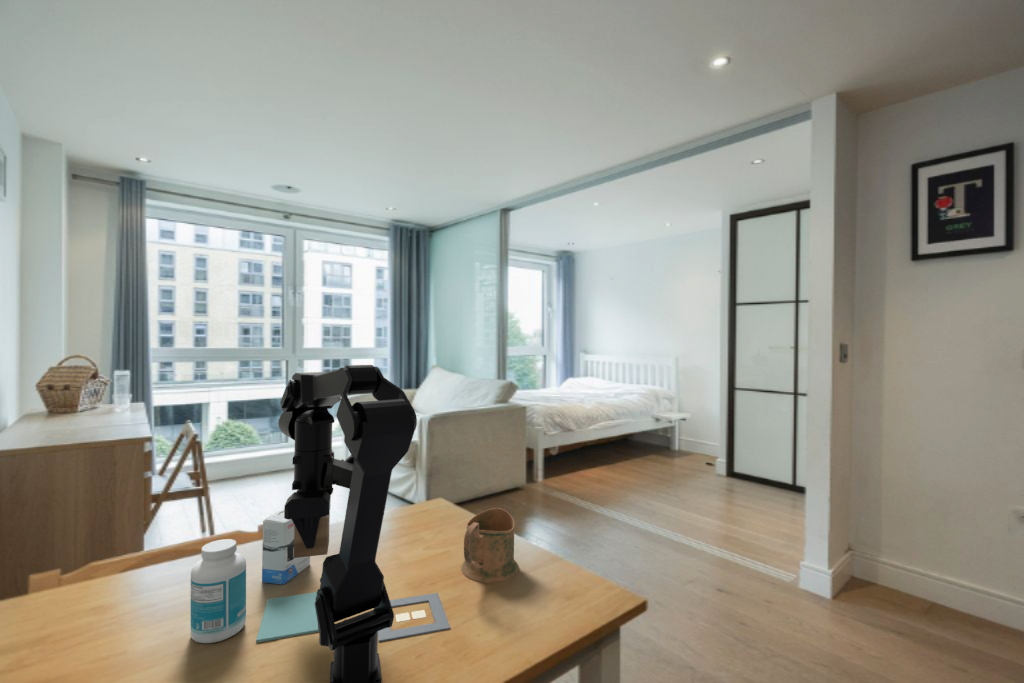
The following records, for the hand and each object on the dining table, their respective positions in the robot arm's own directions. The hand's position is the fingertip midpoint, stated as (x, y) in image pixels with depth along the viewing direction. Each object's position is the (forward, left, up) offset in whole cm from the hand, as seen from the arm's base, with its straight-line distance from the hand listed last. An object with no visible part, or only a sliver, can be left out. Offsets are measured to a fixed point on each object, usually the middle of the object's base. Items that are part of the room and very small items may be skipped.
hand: (311, 541), depth 80 cm
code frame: (-6, -16, -12) cm, 21 cm away
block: (0, 0, -1) cm, 1 cm away
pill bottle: (-1, +13, -12) cm, 18 cm away
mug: (+4, -31, -13) cm, 34 cm away
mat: (0, +2, -12) cm, 12 cm away
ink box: (+16, +5, -13) cm, 21 cm away
